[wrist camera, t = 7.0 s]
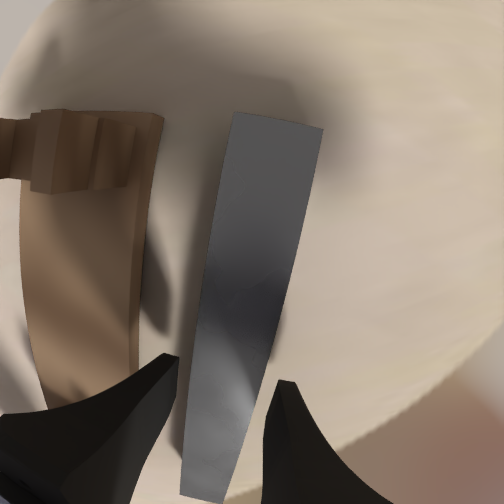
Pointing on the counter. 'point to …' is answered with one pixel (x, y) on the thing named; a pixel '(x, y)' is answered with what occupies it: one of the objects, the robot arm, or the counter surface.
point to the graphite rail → (243, 290)
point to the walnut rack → (82, 241)
